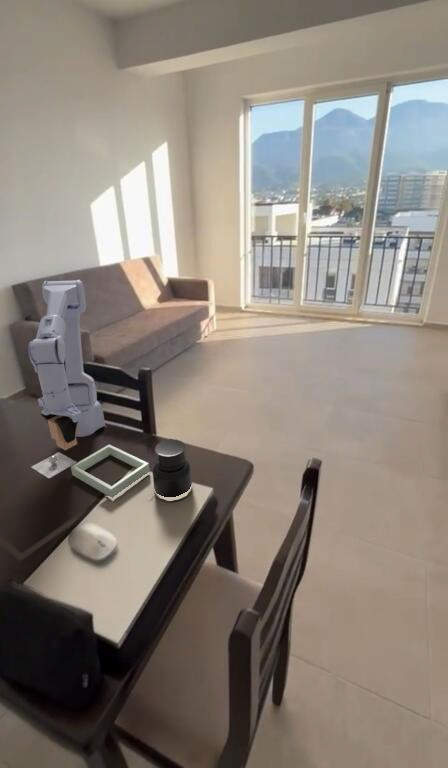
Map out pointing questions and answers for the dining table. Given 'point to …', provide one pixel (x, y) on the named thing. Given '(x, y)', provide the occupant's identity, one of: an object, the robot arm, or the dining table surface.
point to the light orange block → (60, 434)
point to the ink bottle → (171, 469)
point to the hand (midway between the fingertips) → (65, 438)
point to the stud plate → (53, 465)
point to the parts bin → (102, 486)
